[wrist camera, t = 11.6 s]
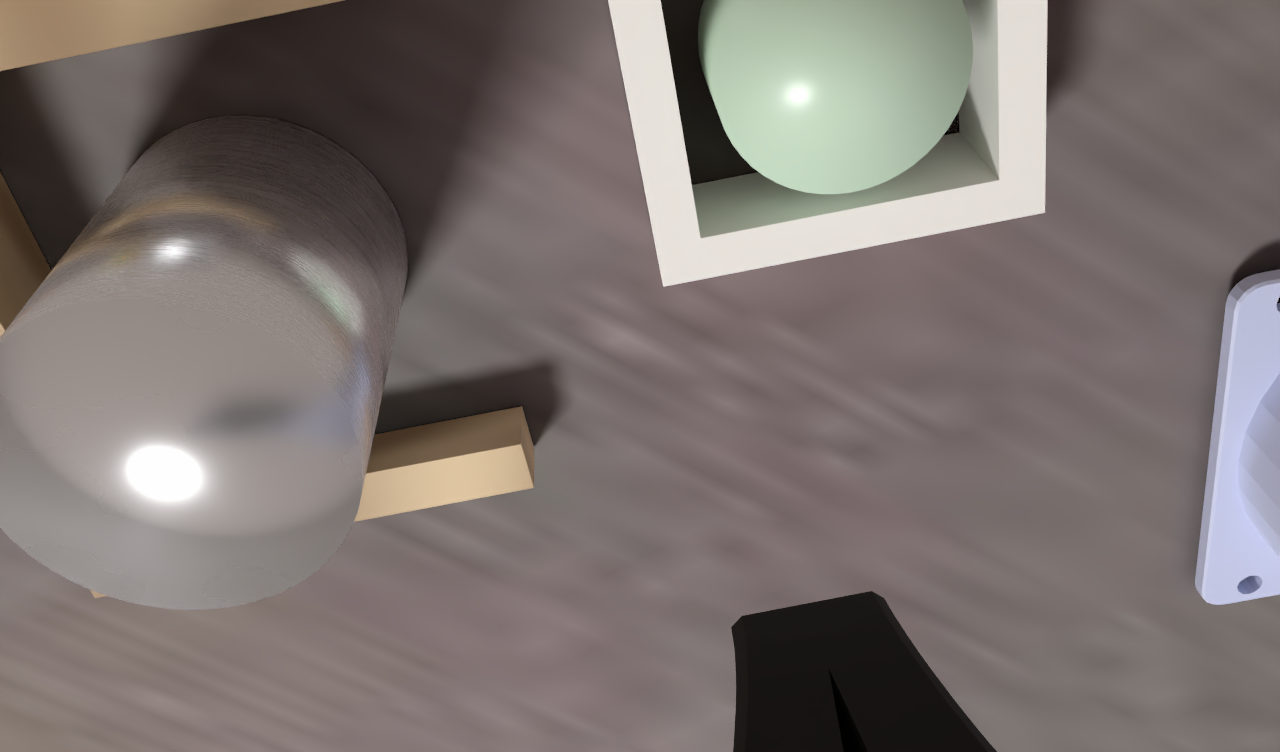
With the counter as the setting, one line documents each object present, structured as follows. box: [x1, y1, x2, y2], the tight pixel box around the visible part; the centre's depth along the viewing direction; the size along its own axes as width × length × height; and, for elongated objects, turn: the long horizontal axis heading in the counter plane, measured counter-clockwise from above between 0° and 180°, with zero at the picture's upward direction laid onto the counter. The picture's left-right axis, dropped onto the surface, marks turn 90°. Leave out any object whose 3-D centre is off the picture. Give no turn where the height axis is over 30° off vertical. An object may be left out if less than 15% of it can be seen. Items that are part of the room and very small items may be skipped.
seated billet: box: [0, 116, 408, 610], centre depth 17 cm, size 5×5×6 cm
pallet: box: [0, 0, 534, 598], centre depth 16 cm, size 8×19×2 cm, turn 10°
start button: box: [698, 0, 973, 194], centre depth 17 cm, size 4×4×2 cm
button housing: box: [608, 0, 1048, 287], centre depth 17 cm, size 6×6×2 cm
